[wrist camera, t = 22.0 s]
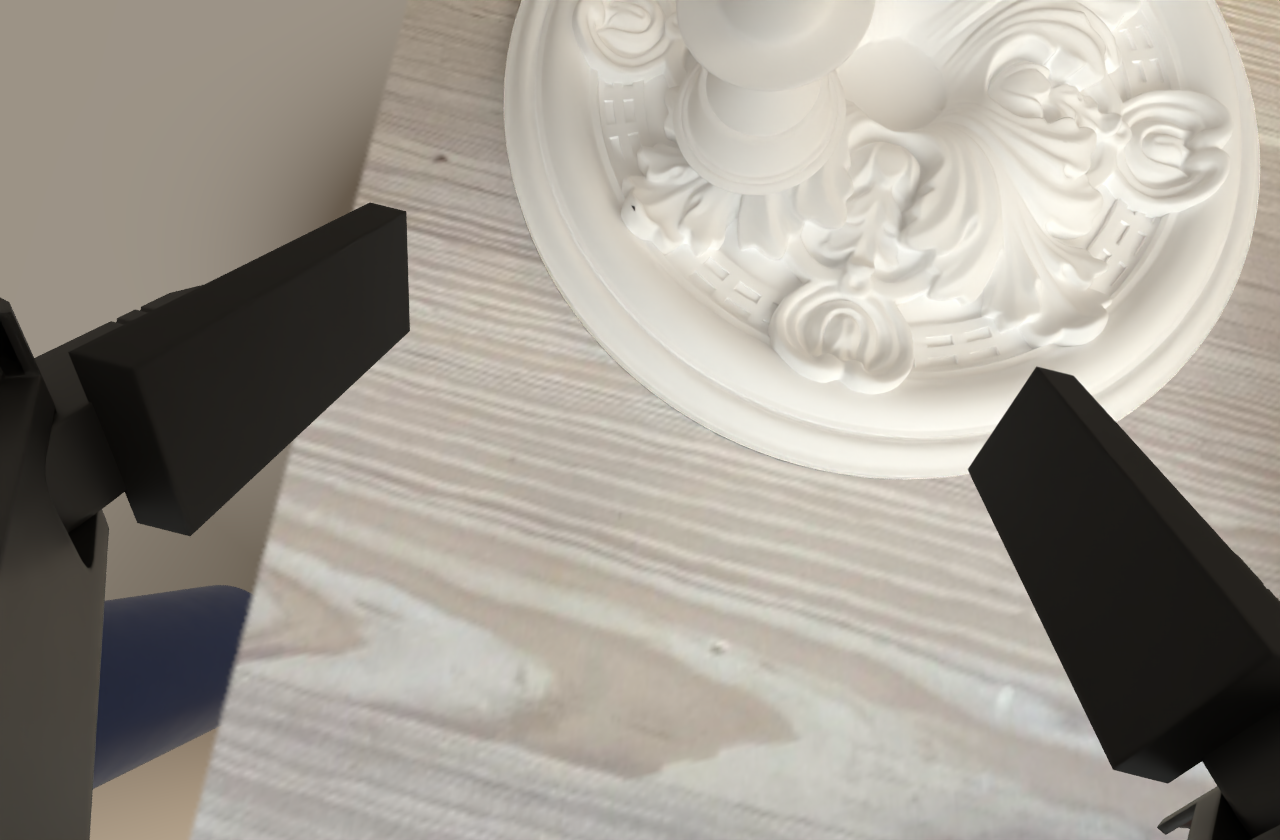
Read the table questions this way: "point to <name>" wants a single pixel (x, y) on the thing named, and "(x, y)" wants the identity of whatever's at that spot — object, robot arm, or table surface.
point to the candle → (764, 88)
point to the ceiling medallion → (898, 219)
